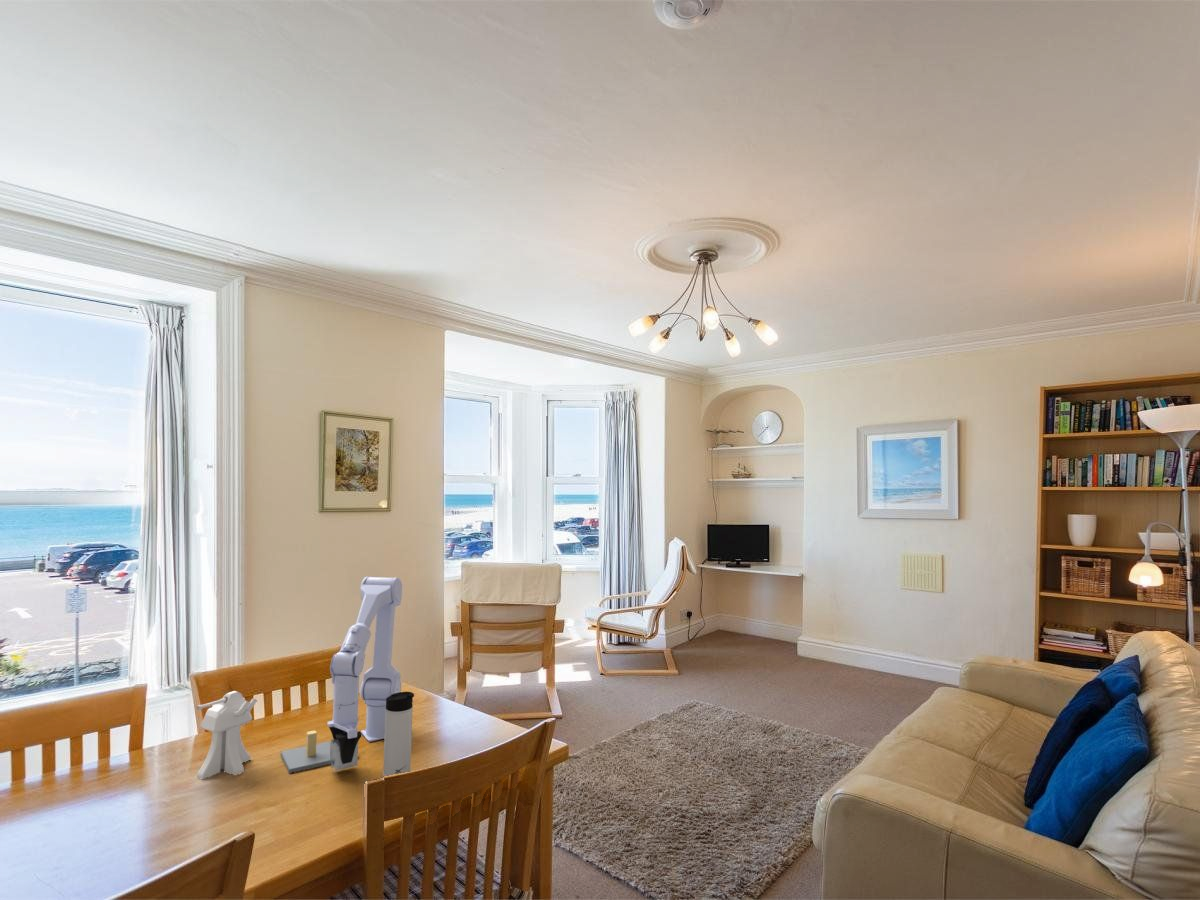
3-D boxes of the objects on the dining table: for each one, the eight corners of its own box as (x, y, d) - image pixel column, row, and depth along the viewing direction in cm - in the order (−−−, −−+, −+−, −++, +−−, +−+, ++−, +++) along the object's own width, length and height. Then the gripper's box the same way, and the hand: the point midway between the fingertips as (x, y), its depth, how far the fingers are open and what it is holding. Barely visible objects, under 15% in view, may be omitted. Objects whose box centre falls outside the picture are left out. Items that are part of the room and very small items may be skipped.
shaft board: (345, 741, 174) (346, 717, 174) (357, 757, 164) (358, 732, 164) (280, 755, 164) (281, 729, 165) (289, 773, 155) (290, 746, 155)
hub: (351, 757, 160) (352, 735, 160) (357, 765, 156) (358, 742, 156) (329, 762, 157) (330, 739, 157) (334, 771, 153) (335, 747, 153)
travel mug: (403, 785, 150) (406, 698, 151) (377, 782, 151) (380, 696, 152) (416, 773, 156) (419, 690, 157) (391, 770, 158) (394, 687, 158)
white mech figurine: (179, 774, 153) (183, 697, 154) (233, 753, 165) (237, 682, 166) (209, 786, 147) (213, 707, 148) (263, 764, 159) (266, 690, 160)
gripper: (321, 695, 160) (319, 750, 160) (335, 714, 149) (333, 773, 148) (351, 690, 165) (349, 744, 164) (367, 708, 153) (365, 766, 152)
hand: (343, 758), depth 156 cm, fingers closed on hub, 5 cm apart
